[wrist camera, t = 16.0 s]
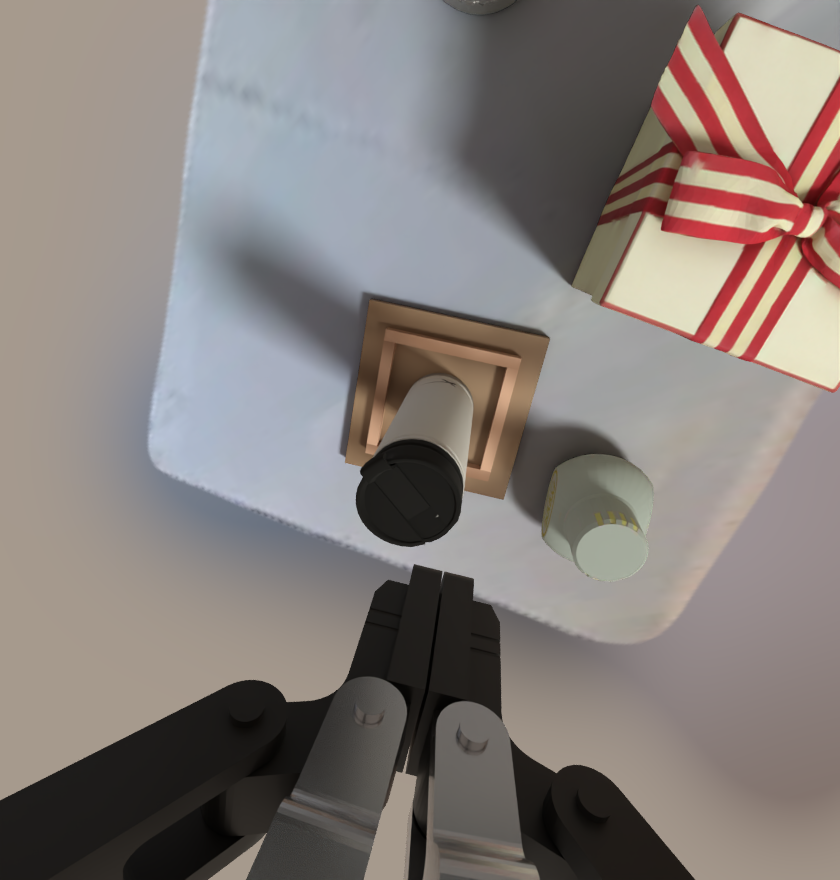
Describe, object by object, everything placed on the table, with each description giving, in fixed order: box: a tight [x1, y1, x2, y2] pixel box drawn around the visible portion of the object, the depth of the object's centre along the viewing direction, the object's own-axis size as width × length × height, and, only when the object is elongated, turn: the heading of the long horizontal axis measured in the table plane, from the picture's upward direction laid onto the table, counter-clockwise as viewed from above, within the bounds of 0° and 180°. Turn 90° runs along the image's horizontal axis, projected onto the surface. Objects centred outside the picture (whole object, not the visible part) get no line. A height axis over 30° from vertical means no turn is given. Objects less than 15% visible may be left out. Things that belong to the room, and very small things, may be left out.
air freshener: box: [542, 454, 654, 582], centre depth 46 cm, size 11×8×10 cm
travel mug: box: [356, 373, 474, 547], centre depth 39 cm, size 6×7×20 cm
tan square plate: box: [345, 299, 550, 500], centre depth 48 cm, size 16×16×2 cm
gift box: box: [572, 5, 840, 393], centre depth 33 cm, size 17×18×17 cm
